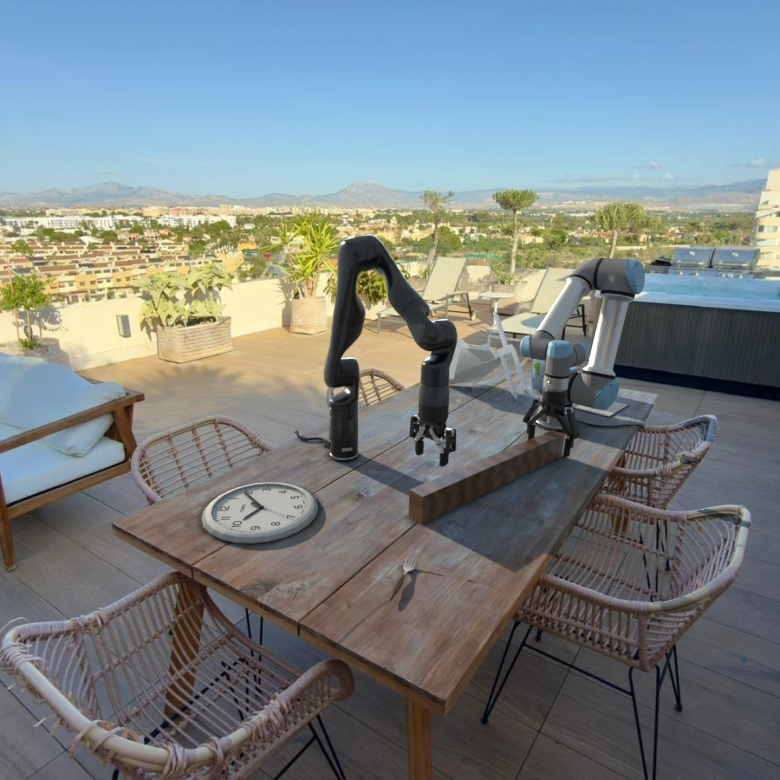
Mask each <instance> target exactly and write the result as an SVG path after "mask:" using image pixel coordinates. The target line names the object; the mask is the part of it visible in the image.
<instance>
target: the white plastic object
mask: <svg viewBox="0 0 780 780" xmlns="http://www.w3.org/2000/svg"><path fill="white" fill-rule="evenodd" d="M492 315H493V319H494V321H495V324H496V325H495V326H496V328H497V332H498V335H499V338H500V342H501V345H502V347H500V348H498V349H496V350H495V349H493V348H492V347H491V346H490V344H489V343H488V342H487V343H483V344H479V345H473V346H469V345H468V343H466V342H465V340H464V339H463V338H460V339H458V338H457V345H456V348H455V352H454V355H453V359H452V362H451V365H450V369H449V386H450V385H458V384H467V383H468V384H469V383H473V384H477V383H480V382H482V381H484V378H485V377H486V376H487V375H489V374H490V373H492V372H494V371H495V370H496V369H497V368H499V367H500V366H502V370H503V373H504V376H505V380H506V383H507V386H508V390H509V393H510V394H511V395H512V397H513V398H514V399H515V400H517V392H516V391H517V390H516V388H515V385H514V381H513V378H512V375H511V371H510V369H509V365H508V361H510V360H513V363H514V366H515V369H516V372H517V376H518V380H519V382H520V385H521V389H522V391H523V393H524V395H525V396H526V397H528V396H531V395H530V390H529V388H528V387H529V386H528V384H527V381H526V378H525V375H524V371H523V369H522V368H523V367H522V366H521V362H520V359H519V355H518V352H517V349H516V347H515V346H514V345H513V343H511V344H508V341H507V337H506V334H505V331H504V328H503V325H502V321H501V318H500V315H499V314H498V312H497V311H496V310H495V311H492Z"/></svg>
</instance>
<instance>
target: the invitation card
mask: <svg viewBox="0 0 780 780" xmlns="http://www.w3.org/2000/svg"><path fill="white" fill-rule="evenodd" d="M628 406H629V404H627V403H623V402H618V401H614V402H613V404H612V405H611V406H610V407H609V408H608V409H606V410H599V409H592V408H590V407H586V406H582V405H578V404H577V405H575V406H574V407H573V408H574V409H575V410H581V411H584V412H587V413H593V414H596V415H600V416H604V417H608V418H609V417H611V416H613V415H614V414H616V413H617V412H619V411H621V410H623V409H624V408H626V407H628Z"/></svg>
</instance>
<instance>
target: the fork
mask: <svg viewBox="0 0 780 780" xmlns="http://www.w3.org/2000/svg"><path fill="white" fill-rule="evenodd" d="M410 552H411V553H410ZM409 555H410V557H409ZM412 556H413V557H412ZM415 556H416V557H415ZM418 557H419V554H417V555H416V552H414V554H413V551H410V550H409V551H408V553H407V556H406V558H405V562H404V564H403V571H404V572H403V574H402V575H401V576H400V578H399V579H398V580H397V582H396V584H395V586H394V589H393V592H392V594H391V596H390V599H389V602H392V601H393V599H394V597H396V595H397V594H398V592H399V590H400V589H401V587H402V586H403V584H404V581H405V578H406V575H407V573H409V572H412V571H414V570H415V568H416V566H417V561H418Z"/></svg>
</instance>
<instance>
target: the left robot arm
mask: <svg viewBox="0 0 780 780" xmlns="http://www.w3.org/2000/svg"><path fill="white" fill-rule="evenodd" d="M336 269H337V273H336V278H337V279H336V289H335V300H334V306H333V311H332V319H331V329H330V337H329V344H328V347H327V348H328V349H327V353H326V357H325V361H324V366H323V381H324V384H325V385H326V387H328V388H330V389H341V388H344V389H342V390H341V391H340V392H339V393H336V394H334V395H332V396H331V397H330V398H329V402H328V405H329V406H328V408H329V409H328V410H329V427H328V438H327V439H325V438H323V437H319V436H316V437H301V436H300V433H299V430H297V429H296V430H294V432H293V434H295V435H296V437H297V438H298V439H299V440H301V441H322V442H323V447H324V448H326V447H327V448H328V449H329V457H330V459H332V460H334V461H337V462H351V461H353V460H356V459H357V458H358V457H359V399H360V397H359V396H360V395H359V394H360V375H361V373H360V371H361V370H360V364H359V362H358V360H357V358H355V357H343V356H344V355H345V354H346V352H347V351H348V350H349V349H350V348H351V347H352V346H353V344H354V343H356V341H357V340H358V339H359V338H360V336H361V335H362V333H363V330H364V326H365V321H366V316H367V315H366V313H367V312H366V307H365V305H364V303H363V301H362V298H361V297H360V295H359V294H358V291H357V286H358V285H357V284H358V278H359V275H360V274H362V273H366V272H371V271H376V272H377V273H378V274H379V275H380V276H381V277H382V278H383V280H384V282H385V290H386V296H387V300H388V302H389V304H390V306H391V307H392V309H393V310H394V312H395V313H397V314H398V316H399V317H400V318H401V319H402V320H403V321H404V322H405V324H406V326H407V328H408V331H409V332H410V335H411V336H412V339H413V341H414V342H415V344H416V345H417V346H418V347H419V348H420V349H422V350H423V351H425V352H430V354H429V356H428V357H426V358H424V360H423V361H422V362H421V363H420V364H421V365H420V378H419V379H420V382H419V383H420V384H419V389H418V408H417V409H418V411H417V414H415V415H411V416H410V422H409V437H410V438H411V439H412V438H413V440H414V445H415V446H414V452H415V455H416V456H422V455H423V454H424V451H425V449H424V448H425V441H424V439H430V440H431V441H433V442H434V443H435V445H436V447H438V449H439V463H438V465H439V467H441V468H444V467H445V466H447V465H448V464H449V460H450V459H449V458H450V454H451V453H453V452H456V451H457V429H456V428H455V427H454V428H449V427H447V420H448V419H449V409H450V385H449V369H450V365H451V362H452V359H453V355H454V352H455V348H456V345H457V339H458V337H459V336H458V330H457V327H456V325H455V323H454V322H453V321H452V320H450V319H446V318H442V319H435V320H430V318H429V316H430V314H431V307H430V305H429V304H428V303H427V302H426V300H425V299H424V298H423V297H422V296H421V295H420V294H419V293H418V291H416V289H415V288H414V287H413V286H412V285H411V284H410V282H408V280H407V279H406V277H405V276H404V274H403V272H402V271H401V270H400V268H399V266H398V264H397V263H396V262H395V260H394V258H393V257H392V255H391V254H390V252H389V251H388V250H387V248H386V246H385V245H384V243H383V242H382V241H381V239H380V238H378V237H377V236H376V235H374V234H361V235H358V236H353V237H352V236H351V237H348V238H345V239H343V240H342V241H341V242H340V244H339V248H338V252H337V268H336ZM440 439H441V440H440Z"/></svg>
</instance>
